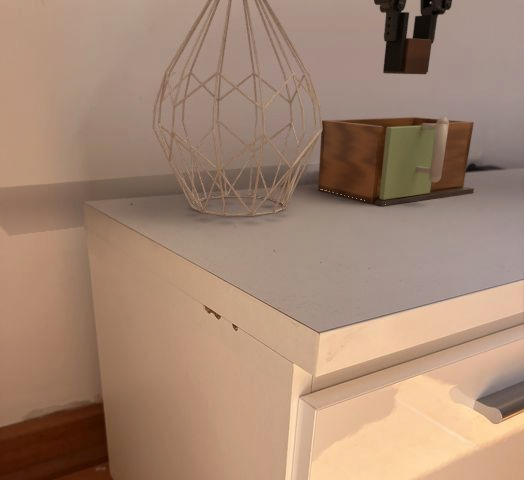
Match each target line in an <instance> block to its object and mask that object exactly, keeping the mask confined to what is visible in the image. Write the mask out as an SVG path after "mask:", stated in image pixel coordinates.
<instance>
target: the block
mask: <svg viewBox="0 0 524 480" xmlns="http://www.w3.org/2000/svg"><path fill="white" fill-rule="evenodd" d="M430 44H431V40H430V39H415V38H413V37H406V45H405V54H404V63H403V72H393V71H383V70H382V73H383V74H387V75H388V74H393V75H394V74H395V75H427V74H428V72H427V67H428V59H429V52H430ZM431 45H432V44H431ZM430 53H431V52H430ZM429 60H430V59H429ZM428 68H429V67H428Z"/></svg>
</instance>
